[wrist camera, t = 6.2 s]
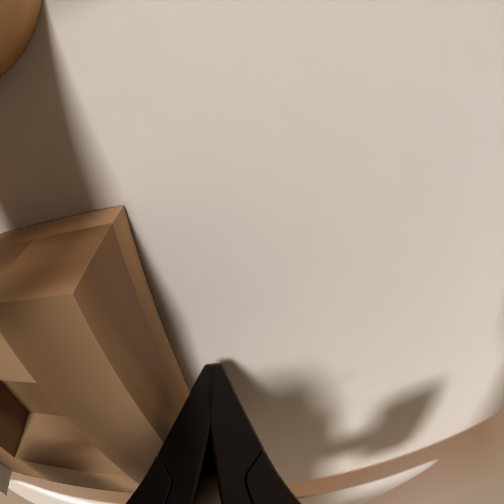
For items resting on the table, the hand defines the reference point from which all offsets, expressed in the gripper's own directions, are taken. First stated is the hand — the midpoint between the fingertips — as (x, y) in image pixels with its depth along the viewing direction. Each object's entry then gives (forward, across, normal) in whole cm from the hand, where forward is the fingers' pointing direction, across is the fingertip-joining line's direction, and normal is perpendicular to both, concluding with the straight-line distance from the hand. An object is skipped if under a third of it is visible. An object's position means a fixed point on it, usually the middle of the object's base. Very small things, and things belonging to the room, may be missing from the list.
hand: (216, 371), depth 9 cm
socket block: (+1, +6, 0) cm, 6 cm away
